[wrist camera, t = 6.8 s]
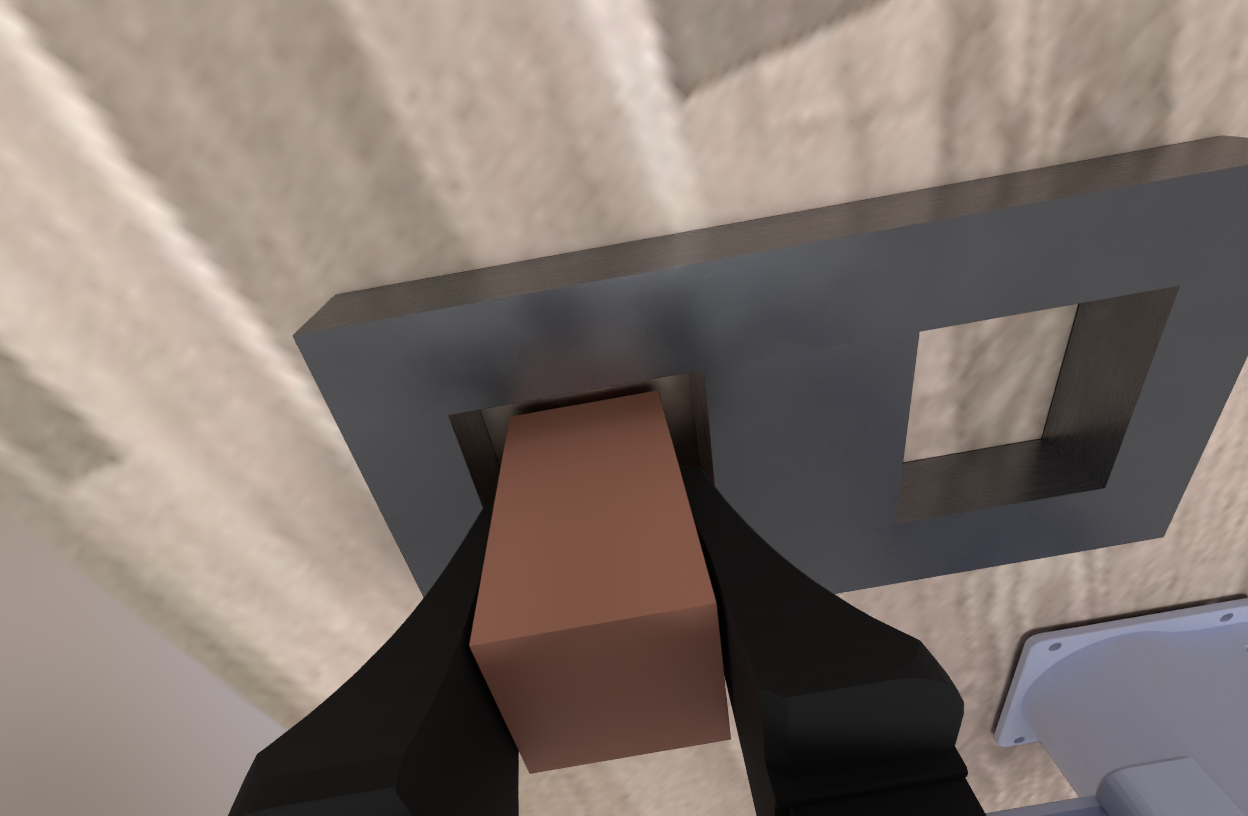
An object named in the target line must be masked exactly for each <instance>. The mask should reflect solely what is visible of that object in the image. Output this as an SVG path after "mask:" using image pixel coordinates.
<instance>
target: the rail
mask: <svg viewBox="0 0 1248 816" xmlns="http://www.w3.org/2000/svg"><path fill="white" fill-rule="evenodd" d="M1078 303H1080V305H1079V308H1078V312H1077V315H1076V319H1075V323H1074V326H1073V330H1072V333H1071V337H1070V341H1069V344H1068V348H1067V351H1066V355H1065V359H1064V362H1063V366H1062V369H1061V373H1060V377H1059V380H1058V384H1057V387H1056V391H1055V395H1054V398H1053V402H1052V405H1051V409H1050V412H1049V416H1048V420H1047V423H1046V427H1045V430H1044V434H1043V438H1042V439H1039V440H1033V441H1028V442H1022V443H1016V444H1010V445H1005V446H999V447H993V448H988V449H982V450H976V451H970V452H965V453H959V454H953V455H948V456H942V457H936V458H930V459H925V460H919V461H913V462H907V463H903V459H904V451H905V443H906V435H907V427H908V419H909V411H910V403H911V395H912V387H913V379H914V371H915V364H916V356H917V348H918V340H919V332H920V331H926V330H931V329H937V328H943V327H948V326H954V325H959V324H965V323H971V322H976V321H982V320H988V319H993V318H999V317H1005V316H1010V315H1016V314H1022V313H1027V312H1033V311H1039V310H1044V309H1050V308H1056V307H1061V306H1067V305H1073V304H1078ZM293 338H294V340H295V342H296V344H297V346H298V348H299V350H300V352H301V354H302V356H303V358H304V360H305V362H306V364H307V366H308V368H309V370H310V372H311V374H312V375H313V377H314V379H315V381H316V383H317V385H318V387H319V389H320V391H321V393H322V395H323V397H324V399H325V401H326V403H327V405H328V407H329V409H330V411H331V413H332V415H333V417H334V419H335V421H336V423H337V425H338V427H339V429H340V431H341V433H342V435H343V437H344V439H345V441H346V443H347V445H348V447H349V449H350V451H351V453H352V455H353V457H354V459H355V461H356V463H357V465H358V467H359V469H360V471H361V473H362V475H363V477H364V479H365V481H366V483H367V485H368V487H369V489H370V491H371V493H372V495H373V497H374V499H375V501H376V503H377V505H378V507H379V509H380V511H381V513H382V515H383V517H384V519H385V521H386V523H387V525H388V527H389V529H390V531H391V533H392V535H393V537H394V539H395V541H396V543H397V545H398V547H399V549H400V551H401V553H402V555H403V557H404V559H405V561H406V563H407V565H408V567H409V569H410V571H411V573H412V575H413V577H414V579H415V581H416V583H417V585H418V587H419V589H420V591H421V593H422V595H423V597H425V595H426V594H427V593H428V591H429V590H430V588H431V587H432V586H433V584H434V583H435V582H436V580H437V579H438V578H439V576H440V575H441V573H442V572H443V570H444V569H445V567H446V566H447V564H448V563H449V561H450V560H451V558H452V557H453V555H454V554H455V552H456V551H457V549H458V548H459V546H460V545H461V543H462V541H463V540H464V538H465V537H466V535H467V533H468V532H469V530H470V528H471V527H472V525H473V524H474V522H475V520H476V519H477V517H478V515H479V514H480V512H481V510H482V509H483V507H484V506H485V505H486V503H491V502H495V497H496V491H497V486H498V480H499V474H500V468H499V465H498V462H497V459H496V456H495V453H494V450H493V447H492V445H491V442H490V439H489V436H488V433H487V430H486V427H485V424H484V421H483V418H482V415H481V412H480V409H485V408H490V407H496V406H502V405H507V404H513V403H519V402H524V401H530V400H536V399H541V398H547V397H553V396H558V395H564V394H569V393H575V392H581V391H586V390H592V389H598V388H603V387H609V386H615V385H620V384H626V383H632V382H637V381H643V380H649V379H654V378H660V377H666V376H671V375H677V374H683V373H688V372H690V377H691V386H692V395H693V405H694V414H695V423H696V433H697V442H698V451H699V461H700V467H701V468H702V469H704V471H705V473H706V474H707V476H708V477H709V479H710V480H711V481H712V483H713V484H714V486H715V487H716V488H717V489H718V491H719V492H720V493H721V494H722V496H723V497H724V498H725V499H726V501H727V502H728V503H729V504H730V505H731V506H732V508H733V509H734V510H735V511H736V512H737V513H738V514H739V515H740V516H741V517H742V518H743V519H744V521H745V522H746V523H747V524H748V525H749V526H750V527H751V528H752V529H753V530H754V531H755V532H756V533H757V534H758V535H759V536H761V537H762V538H763V539H764V540H765V541H766V542H767V543H768V544H769V545H770V546H771V547H772V548H773V549H775V550H776V551H777V552H778V553H779V554H780V555H782V556H783V557H784V558H785V559H786V560H788V561H789V562H790V563H791V564H793V565H794V566H795V567H796V568H798V569H799V570H800V571H802V572H803V573H804V574H806V575H807V576H808V577H810V578H811V579H812V580H814V581H815V582H817V583H818V584H820V585H821V586H823V587H824V588H826V589H827V590H829V591H830V592H832V593H833V594H837V593H843V592H849V591H854V590H860V589H866V588H872V587H878V586H883V585H889V584H895V583H901V582H907V581H912V580H918V579H924V578H930V577H936V576H941V575H947V574H953V573H959V572H965V571H970V570H976V569H982V568H988V567H994V566H999V565H1005V564H1011V563H1017V562H1023V561H1028V560H1034V559H1040V558H1046V557H1052V556H1057V555H1063V554H1069V553H1075V552H1080V551H1086V550H1092V549H1098V548H1104V547H1109V546H1115V545H1121V544H1127V543H1133V542H1138V541H1144V540H1150V539H1156V538H1162V537H1164V535H1165V533H1166V531H1167V528H1168V526H1169V524H1170V522H1171V520H1172V518H1173V516H1174V513H1175V511H1176V509H1177V507H1178V505H1179V503H1180V501H1181V498H1182V496H1183V494H1184V492H1185V490H1186V488H1187V485H1188V483H1189V481H1190V479H1191V477H1192V475H1193V473H1194V470H1195V468H1196V466H1197V464H1198V462H1199V460H1200V457H1201V455H1202V453H1203V451H1204V449H1205V447H1206V445H1207V442H1208V440H1209V438H1210V436H1211V434H1212V432H1213V430H1214V427H1215V425H1216V423H1217V421H1218V419H1219V417H1220V414H1221V412H1222V410H1223V408H1224V406H1225V404H1226V402H1227V399H1228V397H1229V395H1230V393H1231V391H1232V389H1233V387H1234V384H1235V382H1236V380H1237V378H1238V376H1239V374H1240V371H1241V369H1242V367H1243V365H1244V363H1245V361H1246V359H1247V356H1248V138H1244V137H1234V136H1219V137H1213V138H1207V139H1202V140H1196V141H1191V142H1185V143H1180V144H1174V145H1168V146H1163V147H1157V148H1152V149H1146V150H1141V151H1135V152H1129V153H1124V154H1118V155H1113V156H1107V157H1102V158H1096V159H1090V160H1085V161H1079V162H1074V163H1068V164H1063V165H1057V166H1051V167H1046V168H1040V169H1035V170H1029V171H1024V172H1018V173H1012V174H1007V175H1001V176H996V177H990V178H984V179H979V180H973V181H968V182H962V183H957V184H951V185H945V186H940V187H934V188H929V189H923V190H918V191H912V192H906V193H901V194H895V195H890V196H884V197H879V198H873V199H867V200H862V201H856V202H851V203H845V204H840V205H834V206H828V207H823V208H817V209H812V210H806V211H801V212H795V213H789V214H784V215H778V216H773V217H767V218H762V219H756V220H750V221H745V222H739V223H734V224H728V225H723V226H717V227H711V228H706V229H700V230H695V231H689V232H684V233H678V234H672V235H667V236H661V237H656V238H650V239H645V240H639V241H633V242H628V243H622V244H617V245H611V246H605V247H600V248H594V249H589V250H583V251H578V252H572V253H566V254H561V255H555V256H550V257H544V258H539V259H533V260H527V261H522V262H516V263H511V264H505V265H500V266H494V267H488V268H483V269H477V270H472V271H466V272H461V273H455V274H449V275H444V276H438V277H433V278H427V279H422V280H416V281H410V282H405V283H399V284H394V285H388V286H383V287H377V288H371V289H366V290H360V291H355V292H349V293H344V294H338V295H335V296H334V297H333V298H331V299H330V300H329V301H328V302H327V303H326V304H325V305H324V306H323V307H322V308H321V309H320V310H319V311H318V312H317V313H316V314H315V315H314V316H313V317H311V318H310V319H309V320H308V321H307V322H306V323H305V324H304V325H303V326H302V327H301V328H300V329H299V330H298V331H297V332H296V333H295V334H294V335H293Z"/></svg>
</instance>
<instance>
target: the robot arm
mask: <svg viewBox="0 0 1248 816" xmlns="http://www.w3.org/2000/svg"><path fill="white" fill-rule="evenodd" d="M680 472H681V476H682V479H683V483H684V487H685V490H686V494H687V498H688V501H689V505H690V509H691V512H692V516H693V520H694V523H695V527H696V531H697V534H698V538H699V541H700V545H701V549H702V552H703V556H704V560H705V563H706V567H707V571H708V574H709V578H710V582H711V585H712V589H713V593H714V596H715V600H716V604H717V613H718V623H719V632H720V641H721V651H722V660H723V669H724V676H725V680H726V685H727V689H728V693H729V697H730V701H731V706H732V710H733V714H734V718H735V723H736V727H737V731H738V736H739V740H740V744H741V749H742V753H743V757H744V762H745V766H746V771H747V775H748V780H749V784H750V788H751V793H752V797H753V802H754V806H755V811H756V815H757V816H1248V598H1244V599H1238V600H1232V601H1226V602H1220V603H1215V604H1209V605H1203V606H1197V607H1191V608H1185V609H1180V610H1174V611H1168V612H1162V613H1156V614H1150V615H1145V616H1139V617H1133V618H1127V619H1121V620H1115V621H1110V622H1104V623H1098V624H1092V625H1086V626H1080V627H1074V628H1069V629H1063V630H1057V631H1051V632H1045V633H1039V634H1036V635H1033V636H1031V637H1029V638H1028V639H1027V640H1026V642H1025V644H1024V647H1023V650H1022V653H1021V656H1020V659H1019V662H1018V665H1017V668H1016V671H1015V674H1014V677H1013V680H1012V683H1011V686H1010V689H1009V692H1008V695H1007V698H1006V701H1005V704H1004V707H1003V710H1002V713H1001V716H1000V719H999V722H998V725H997V728H996V731H995V734H994V739H995V741H996V743H997V744H998V745H999V746H1001V747H1010V746H1016V745H1022V744H1028V743H1034V742H1041V744H1042V745H1043V747H1044V748H1045V750H1046V751H1047V752H1048V754H1049V755H1050V757H1051V758H1052V760H1053V761H1054V762H1055V764H1056V765H1057V767H1058V768H1059V769H1060V771H1061V772H1062V774H1063V775H1064V777H1065V778H1066V779H1067V781H1068V782H1069V784H1070V785H1071V787H1072V788H1073V789H1074V791H1075V792H1076V794H1077V795H1078V797H1079V798H1074V799H1068V800H1062V801H1056V802H1050V803H1044V804H1038V805H1032V806H1026V807H1020V808H1014V809H1008V810H1002V811H996V812H990V813H985V812H984V810H983V809H982V807H981V805H980V803H979V802H978V800H977V798H976V796H975V794H974V793H973V791H972V789H971V787H970V785H969V784H968V782H967V780H966V778H965V777H967V775H968V770H967V767H966V765H965V763H964V761H963V760H962V758H961V756H960V754H959V753H958V751H957V749H956V747H955V744H956V740H957V737H958V733H959V729H960V726H961V722H962V719H963V715H964V702H963V700H962V698H961V696H960V694H959V692H958V690H957V688H956V687H955V685H954V683H953V682H952V680H951V679H950V677H949V676H948V674H947V673H946V672H945V670H944V669H943V668H942V667H941V665H940V664H939V663H938V662H937V660H936V659H935V658H934V657H933V655H932V654H931V653H930V652H929V651H928V649H927V648H926V647H925V646H924V645H923V643H922V642H921V641H920V640H918V639H916V638H914V637H912V636H910V635H908V634H906V633H903V632H901V631H899V630H897V629H895V628H893V627H891V626H889V625H887V624H885V623H883V622H881V621H879V620H877V619H875V618H873V617H871V616H869V615H868V614H866V613H864V612H862V611H861V610H859V609H857V608H855V607H854V606H852V605H850V604H849V603H847V602H846V601H844V600H843V599H841V598H840V597H838V596H836V595H835V594H833V593H832V592H830V591H829V590H827V589H826V588H824V587H823V586H821V585H820V584H818V583H817V582H815V581H814V580H812V579H811V578H810V577H808V576H807V575H806V574H804V573H803V572H802V571H800V570H799V569H798V568H796V567H795V566H794V565H793V564H791V563H790V562H789V561H788V560H786V559H785V558H784V557H783V556H782V555H780V554H779V553H778V552H777V551H776V550H775V549H773V548H772V547H771V546H770V545H769V544H768V543H767V542H766V541H765V540H764V539H763V538H762V537H761V536H759V535H758V534H757V533H756V532H755V531H754V530H753V529H752V528H751V527H750V526H749V525H748V524H747V523H746V522H745V521H744V519H743V518H742V517H741V516H740V515H739V514H738V513H737V512H736V511H735V510H734V509H733V508H732V506H731V505H730V504H729V503H728V502H727V501H726V499H725V498H724V497H723V496H722V494H721V493H720V492H719V491H718V489H717V488H716V487H715V486H714V484H713V483H712V481H711V480H710V479H709V477H708V476H707V474H706V473H705V471H704V469H702V468H701V467H699V466H696V467H690V468H685V469H680ZM494 503H495V502H491V503H486V505H485V506H484V507H483V509H482V510H481V512H480V514H479V515H478V517H477V519H476V520H475V522H474V524H473V525H472V527H471V528H470V530H469V532H468V533H467V535H466V537H465V538H464V540H463V541H462V543H461V545H460V546H459V548H458V549H457V551H456V552H455V554H454V555H453V557H452V558H451V560H450V561H449V563H448V564H447V566H446V567H445V569H444V570H443V572H442V573H441V575H440V576H439V578H438V579H437V580H436V582H435V583H434V584H433V586H432V587H431V588H430V590H429V591H428V593H427V594H426V595H425V597H424V598H423V599H422V601H421V602H420V603H419V605H418V606H417V607H416V608H415V610H414V611H413V612H412V613H411V615H410V616H409V617H408V618H407V619H406V621H405V622H404V623H403V624H402V625H401V626H400V628H399V629H398V630H397V631H396V632H395V633H394V634H393V635H392V637H391V638H390V639H389V640H388V641H387V642H386V643H385V644H384V645H383V646H382V647H381V648H380V649H379V650H378V651H377V652H376V653H375V654H374V655H373V656H372V657H371V658H370V659H369V660H368V661H367V662H366V663H365V664H364V665H363V666H362V667H361V668H360V669H359V670H358V671H357V672H356V673H355V674H354V675H353V676H352V677H351V678H350V679H349V680H348V681H346V682H345V683H344V684H343V685H342V686H341V687H340V688H339V689H338V690H337V691H335V692H334V693H333V694H332V695H331V696H330V697H328V698H327V699H326V700H325V701H324V702H323V703H322V704H320V705H319V706H318V707H317V708H316V709H314V710H313V711H312V712H311V713H310V714H308V715H307V716H306V717H305V718H303V719H302V720H301V721H300V722H298V723H297V724H296V725H294V726H293V727H292V728H291V729H289V730H288V731H287V732H285V733H284V734H283V735H282V736H280V737H279V738H278V739H276V740H275V741H274V742H273V743H271V744H270V745H269V746H268V747H266V748H265V749H263V750H262V751H261V752H259V753H258V754H257V755H256V758H255V759H254V761H253V763H252V765H251V767H250V769H249V771H248V773H247V775H246V777H245V779H244V781H243V784H242V786H241V788H240V790H239V792H238V795H237V797H236V799H235V801H234V803H233V806H232V808H231V810H230V813H229V815H228V816H519V803H518V773H519V750H518V748H517V746H516V744H515V742H514V739H513V737H512V735H511V733H510V731H509V729H508V727H507V725H506V723H505V720H504V718H503V716H502V714H501V712H500V710H499V708H498V706H497V704H496V701H495V699H494V697H493V695H492V693H491V691H490V689H489V687H488V685H487V682H486V680H485V678H484V676H483V674H482V672H481V670H480V668H479V665H478V663H477V661H476V659H475V657H474V655H473V653H472V651H471V649H470V646H469V644H470V639H471V633H472V627H473V622H474V616H475V610H476V605H477V599H478V593H479V588H480V582H481V576H482V571H483V565H484V559H485V554H486V548H487V542H488V537H489V531H490V525H491V520H492V514H493V508H494Z"/></svg>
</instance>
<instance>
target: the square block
mask: <svg viewBox="0 0 1248 816" xmlns="http://www.w3.org/2000/svg"><path fill="white" fill-rule="evenodd" d="M469 646H470V649H471V651H472V653H473V655H474V657H475V659H476V661H477V663H478V665H479V668H480V670H481V672H482V674H483V676H484V678H485V680H486V682H487V685H488V687H489V689H490V691H491V693H492V695H493V697H494V699H495V701H496V704H497V706H498V708H499V710H500V712H501V714H502V716H503V718H504V720H505V723H506V725H507V727H508V729H509V731H510V733H511V735H512V737H513V739H514V742H515V744H516V746H517V748H518V750H519V752H520V754H521V756H522V759H523V761H524V763H525V765H526V767H527V769H528V771H529V773H530V774H531V773H537V772H543V771H548V770H554V769H560V768H566V767H572V766H578V765H584V764H589V763H595V762H601V761H607V760H613V759H619V758H625V757H630V756H636V755H642V754H648V753H654V752H660V751H666V750H671V749H677V748H683V747H689V746H695V745H701V744H707V743H713V742H718V741H724V740H730V739H731V735H730V725H729V716H728V707H727V697H726V688H725V679H724V669H723V660H722V651H721V641H720V632H719V623H718V613H717V604H716V600H715V596H714V593H713V589H712V585H711V582H710V578H709V574H708V571H707V567H706V563H705V560H704V556H703V552H702V549H701V545H700V541H699V538H698V534H697V531H696V527H695V523H694V520H693V516H692V512H691V509H690V505H689V501H688V498H687V494H686V490H685V487H684V483H683V479H682V476H681V472H680V469H679V465H678V461H677V458H676V454H675V450H674V447H673V443H672V439H671V436H670V432H669V428H668V425H667V421H666V418H665V414H664V410H663V407H662V403H661V399H660V396H659V392H658V391H652V392H646V393H641V394H635V395H630V396H624V397H618V398H613V399H607V400H601V401H596V402H590V403H585V404H579V405H573V406H568V407H562V408H556V409H551V410H545V411H540V412H534V413H528V414H523V415H517V416H511V417H510V418H509V423H508V429H507V435H506V440H505V446H504V452H503V457H502V463H501V469H500V474H499V480H498V486H497V491H496V497H495V503H494V508H493V514H492V520H491V525H490V531H489V537H488V542H487V548H486V554H485V559H484V565H483V571H482V576H481V582H480V588H479V593H478V599H477V605H476V610H475V616H474V622H473V627H472V633H471V639H470V644H469Z"/></svg>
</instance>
